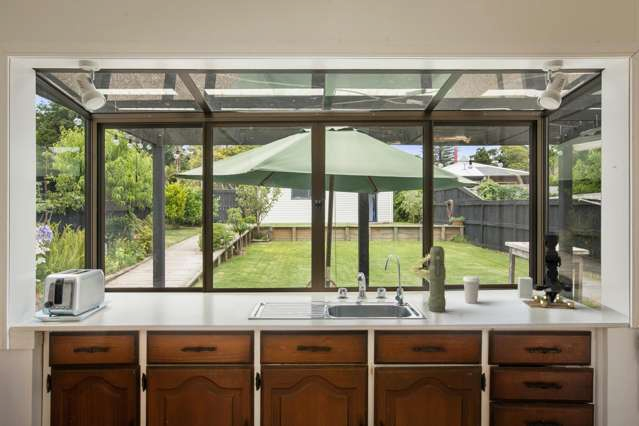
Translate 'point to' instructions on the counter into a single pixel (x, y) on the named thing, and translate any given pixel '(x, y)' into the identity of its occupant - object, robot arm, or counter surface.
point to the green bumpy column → (437, 280)
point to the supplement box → (525, 287)
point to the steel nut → (547, 301)
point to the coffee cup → (471, 289)
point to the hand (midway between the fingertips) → (551, 303)
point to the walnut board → (552, 305)
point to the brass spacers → (544, 303)
